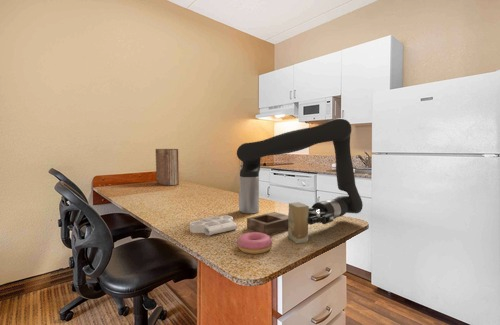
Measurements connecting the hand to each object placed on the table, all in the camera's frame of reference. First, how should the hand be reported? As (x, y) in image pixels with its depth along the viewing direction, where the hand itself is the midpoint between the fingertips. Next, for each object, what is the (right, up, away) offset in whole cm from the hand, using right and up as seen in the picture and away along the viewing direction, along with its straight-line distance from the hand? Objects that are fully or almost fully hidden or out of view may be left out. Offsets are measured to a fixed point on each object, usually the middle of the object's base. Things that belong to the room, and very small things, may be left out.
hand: (298, 218), depth 86 cm
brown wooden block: (-87, 0, +133) cm, 159 cm away
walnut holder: (-8, -6, +13) cm, 17 cm away
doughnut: (-15, -8, -7) cm, 18 cm away
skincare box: (0, -7, 0) cm, 7 cm away
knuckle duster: (-30, -7, +13) cm, 34 cm away
